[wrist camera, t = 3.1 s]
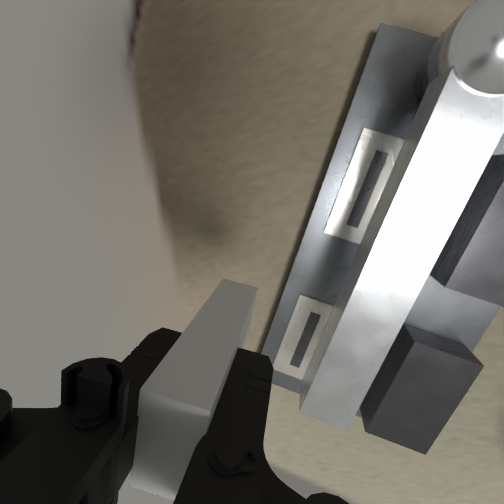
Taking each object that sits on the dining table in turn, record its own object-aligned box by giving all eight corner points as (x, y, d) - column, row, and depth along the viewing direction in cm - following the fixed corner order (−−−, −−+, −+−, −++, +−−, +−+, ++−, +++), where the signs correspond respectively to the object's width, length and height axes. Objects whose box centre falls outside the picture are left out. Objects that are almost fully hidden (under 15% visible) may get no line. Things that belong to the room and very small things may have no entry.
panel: (376, 32, 18) (396, -8, 14) (615, 94, 17) (713, 70, 13) (255, 367, 26) (246, 402, 22) (412, 426, 24) (432, 475, 20)
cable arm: (451, 1, 13) (488, -41, 11) (541, 23, 13) (602, -15, 10) (293, 381, 20) (291, 412, 17) (349, 402, 20) (355, 438, 17)
